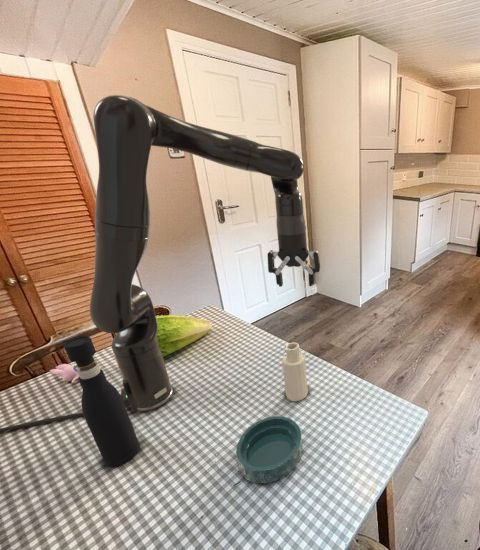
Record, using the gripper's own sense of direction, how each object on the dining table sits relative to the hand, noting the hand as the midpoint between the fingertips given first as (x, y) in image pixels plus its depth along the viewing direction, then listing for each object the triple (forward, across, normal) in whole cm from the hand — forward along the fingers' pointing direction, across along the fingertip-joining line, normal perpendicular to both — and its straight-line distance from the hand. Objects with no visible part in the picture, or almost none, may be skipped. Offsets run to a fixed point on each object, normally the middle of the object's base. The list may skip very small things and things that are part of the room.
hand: (296, 285), depth 88 cm
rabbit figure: (+28, -67, -3) cm, 73 cm away
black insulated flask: (+28, -36, -29) cm, 55 cm away
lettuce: (+28, -44, +14) cm, 54 cm away
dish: (+28, -3, -32) cm, 43 cm away
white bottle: (+28, 0, -13) cm, 31 cm away
